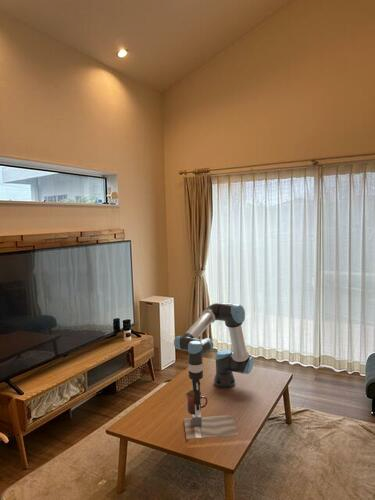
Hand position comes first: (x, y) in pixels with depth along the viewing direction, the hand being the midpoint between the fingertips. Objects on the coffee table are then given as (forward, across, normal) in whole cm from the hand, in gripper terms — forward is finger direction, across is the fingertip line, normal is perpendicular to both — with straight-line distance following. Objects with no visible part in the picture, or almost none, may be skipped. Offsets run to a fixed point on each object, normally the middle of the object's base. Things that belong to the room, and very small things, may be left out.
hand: (196, 411), depth 200 cm
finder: (+12, -10, 0) cm, 16 cm away
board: (+13, -7, +8) cm, 17 cm away
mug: (+1, +1, 0) cm, 1 cm away
